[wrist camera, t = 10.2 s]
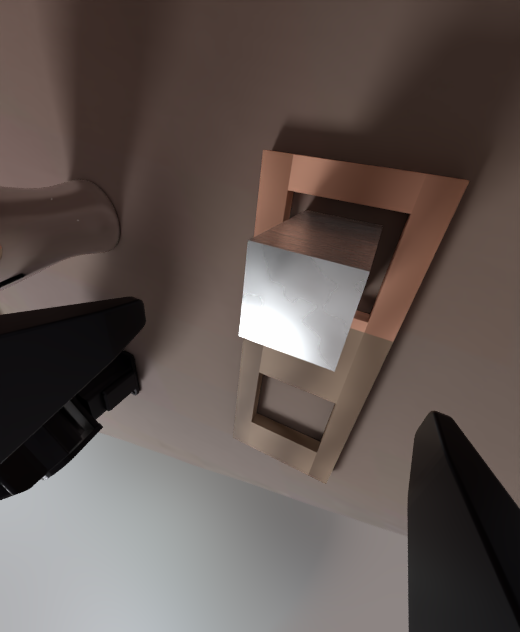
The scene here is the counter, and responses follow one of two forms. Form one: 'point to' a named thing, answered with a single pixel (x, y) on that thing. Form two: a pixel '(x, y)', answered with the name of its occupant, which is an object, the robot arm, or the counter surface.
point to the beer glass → (52, 227)
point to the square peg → (307, 284)
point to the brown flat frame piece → (366, 329)
